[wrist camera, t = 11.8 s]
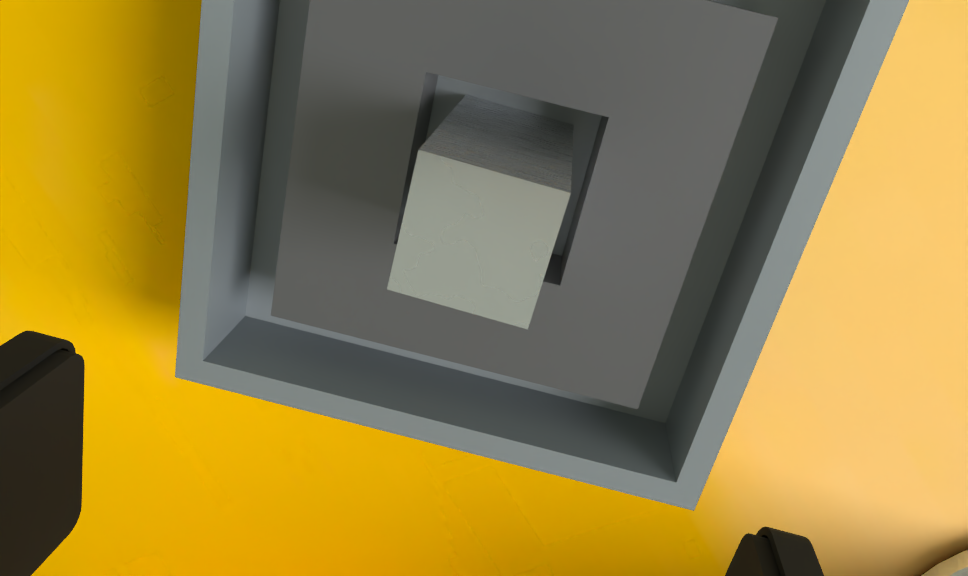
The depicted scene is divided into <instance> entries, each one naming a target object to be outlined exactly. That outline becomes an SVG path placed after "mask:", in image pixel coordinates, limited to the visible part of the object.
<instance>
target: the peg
mask: <svg viewBox="0 0 968 576" xmlns="http://www.w3.org/2000/svg"><path fill="white" fill-rule="evenodd" d="M573 129H574V125H573V124H570V123H566V122H562V121H559V120H555V119H552V118H548V117H545V116H541V115H538V114H534V113H531V112H527V111H524V110H520V109H517V108H513V107H510V106H506V105H503V104H499V103H496V102H492V101H489V100H485V99H481V98H478V97H474V96H471V95H467V94H466V95H465V96H464V98H463V99H462V100H461V101H460V102H459V103H458V104H457V106H456V107H455V108H454V109H453V110H452V111H451V113H450V114H449V115H448V116H447V117H446V118H445V120H444V121H443V122H442V123H441V124H440V125H439V127H438V128H437V129H436V130H435V131H434V132H433V134H432V135H431V136H430V137H429V138H428V139H427V141H426V142H425V143H424V144H423V145H422V146H421V148H420V149H419V150H418V154H417V159H416V163H415V167H414V172H413V176H412V181H411V185H410V190H409V194H408V198H407V203H406V207H405V212H404V216H403V220H402V225H401V229H400V234H399V238H398V243H397V247H396V251H395V256H394V260H393V265H392V269H391V273H390V278H389V282H388V287H387V290H391V291H394V292H398V293H401V294H405V295H409V296H412V297H416V298H419V299H423V300H426V301H430V302H433V303H437V304H440V305H444V306H447V307H451V308H454V309H458V310H461V311H465V312H468V313H472V314H475V315H479V316H482V317H486V318H489V319H493V320H496V321H500V322H503V323H507V324H510V325H514V326H517V327H521V328H524V329H528V327H529V324H530V321H531V318H532V314H533V311H534V308H535V305H536V302H537V299H538V295H539V292H540V289H541V286H542V283H543V280H544V277H545V273H546V270H547V267H548V264H549V261H550V258H551V254H552V251H553V248H554V245H555V242H556V239H557V235H558V232H559V229H560V226H561V223H562V220H563V216H564V213H565V210H566V207H567V204H568V201H569V197H570V194H571V177H572V153H573Z"/></svg>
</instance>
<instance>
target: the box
mask: <svg viewBox="0 0 968 576" xmlns="http://www.w3.org/2000/svg"><path fill="white" fill-rule="evenodd" d="M908 2H909V0H202V5H201V19H200V34H199V48H198V62H197V76H196V90H195V104H194V118H193V132H192V146H191V160H190V174H189V189H188V203H187V217H186V231H185V245H184V259H183V273H182V287H181V301H180V315H179V329H178V344H177V358H176V372H175V377H177V378H181V379H185V380H189V381H192V382H196V383H200V384H204V385H208V386H212V387H216V388H220V389H223V390H227V391H231V392H235V393H239V394H243V395H247V396H251V397H255V398H258V399H262V400H266V401H270V402H274V403H278V404H282V405H286V406H290V407H293V408H297V409H301V410H305V411H309V412H313V413H317V414H321V415H324V416H328V417H332V418H336V419H340V420H344V421H348V422H352V423H356V424H359V425H363V426H367V427H371V428H375V429H379V430H383V431H387V432H391V433H394V434H398V435H402V436H406V437H410V438H414V439H418V440H422V441H425V442H429V443H433V444H437V445H441V446H445V447H449V448H453V449H457V450H460V451H464V452H468V453H472V454H476V455H480V456H484V457H488V458H492V459H495V460H499V461H503V462H507V463H511V464H515V465H519V466H523V467H526V468H530V469H534V470H538V471H542V472H546V473H550V474H554V475H558V476H561V477H565V478H569V479H573V480H577V481H581V482H585V483H589V484H593V485H596V486H600V487H604V488H608V489H612V490H616V491H620V492H624V493H627V494H631V495H635V496H639V497H643V498H647V499H651V500H655V501H659V502H662V503H666V504H670V505H674V506H678V507H682V508H686V509H690V510H695V507H696V505H697V502H698V500H699V498H700V495H701V493H702V491H703V488H704V486H705V483H706V481H707V479H708V476H709V474H710V472H711V469H712V467H713V464H714V462H715V460H716V457H717V455H718V453H719V450H720V448H721V445H722V443H723V441H724V438H725V436H726V434H727V431H728V429H729V426H730V424H731V422H732V419H733V417H734V415H735V412H736V410H737V407H738V405H739V403H740V400H741V398H742V396H743V393H744V391H745V388H746V386H747V384H748V381H749V379H750V377H751V374H752V372H753V369H754V367H755V365H756V362H757V360H758V358H759V355H760V353H761V350H762V348H763V346H764V343H765V341H766V339H767V336H768V334H769V331H770V329H771V327H772V324H773V322H774V320H775V317H776V315H777V312H778V310H779V308H780V305H781V303H782V301H783V298H784V296H785V293H786V291H787V289H788V286H789V284H790V282H791V279H792V277H793V275H794V272H795V270H796V267H797V265H798V263H799V260H800V258H801V256H802V253H803V251H804V248H805V246H806V244H807V241H808V239H809V237H810V234H811V232H812V229H813V227H814V225H815V222H816V220H817V218H818V215H819V213H820V210H821V208H822V206H823V203H824V201H825V199H826V196H827V194H828V191H829V189H830V187H831V184H832V182H833V180H834V177H835V175H836V172H837V170H838V168H839V165H840V163H841V161H842V158H843V156H844V153H845V151H846V149H847V146H848V144H849V142H850V139H851V137H852V134H853V132H854V130H855V127H856V125H857V123H858V120H859V118H860V115H861V113H862V111H863V108H864V106H865V104H866V101H867V99H868V96H869V94H870V92H871V89H872V87H873V85H874V82H875V80H876V77H877V75H878V73H879V70H880V68H881V66H882V63H883V61H884V58H885V56H886V54H887V51H888V49H889V47H890V44H891V42H892V40H893V37H894V35H895V32H896V30H897V28H898V25H899V23H900V21H901V18H902V16H903V13H904V11H905V9H906V6H907V4H908ZM466 94H467V95H471V96H474V97H478V98H481V99H485V100H489V101H492V102H496V103H499V104H503V105H506V106H510V107H513V108H517V109H520V110H524V111H527V112H531V113H534V114H538V115H541V116H545V117H548V118H552V119H555V120H559V121H562V122H566V123H570V124H573V125H574V129H573V153H572V177H571V194H570V197H569V201H568V204H567V207H566V210H565V213H564V216H563V220H562V223H561V226H560V229H559V232H558V235H557V239H556V242H555V245H554V248H553V251H552V254H551V258H550V261H549V264H548V267H547V270H546V273H545V277H544V280H543V283H542V286H541V289H540V292H539V295H538V299H537V302H536V305H535V308H534V311H533V314H532V318H531V321H530V324H529V327H528V329H524V328H521V327H517V326H514V325H510V324H507V323H503V322H500V321H496V320H493V319H489V318H486V317H482V316H479V315H475V314H472V313H468V312H465V311H461V310H458V309H454V308H451V307H447V306H444V305H440V304H437V303H433V302H430V301H426V300H423V299H419V298H416V297H412V296H409V295H405V294H401V293H398V292H394V291H391V290H387V287H388V282H389V278H390V273H391V269H392V265H393V260H394V256H395V251H396V247H397V243H398V238H399V234H400V229H401V225H402V220H403V216H404V212H405V207H406V203H407V198H408V194H409V190H410V185H411V181H412V176H413V172H414V167H415V163H416V159H417V154H418V150H419V149H420V148H421V146H422V145H423V144H424V143H425V142H426V141H427V139H428V138H429V137H430V136H431V135H432V134H433V132H434V131H435V130H436V129H437V128H438V127H439V125H440V124H441V123H442V122H443V121H444V120H445V118H446V117H447V116H448V115H449V114H450V113H451V111H452V110H453V109H454V108H455V107H456V106H457V104H458V103H459V102H460V101H461V100H462V99H463V98H464V96H465V95H466Z"/></svg>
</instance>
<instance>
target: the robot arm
mask: <svg viewBox="0 0 968 576" xmlns="http://www.w3.org/2000/svg"><path fill="white" fill-rule="evenodd" d="M83 410H84V360H83V358H82V356H80V355H79V354H76V353H75V348H74V346H73V344H72V343H71V342H70V341H68V340H64V339H60V338H56V337H53V336H49V335H45V334H41V333H38V332H34V331H25V332H22V333H20V334H18V335H17V336H15V337H14V338H12V339H11V340H9V341H7V342H6V343H4V344H3V345H1V346H0V576H31V575H32V574H33V573H34V571H35V570H36V569H37V568H38V567H39V566H40V565H41V564H42V563H43V562H44V561H45V560H46V559H47V557H48V556H49V555H50V554H51V553H52V552H53V551H54V550H55V549H56V548H57V547H58V546H59V544H60V543H61V542H62V541H63V540H64V539H65V538H66V537H67V536H68V535H69V534H70V532H71V531H72V530H73V528H74V526H75V525H76V523H77V520H78V518H79V515H80V512H81V503H82V456H83ZM725 576H824V575H823V572H822V569H821V567H820V564H819V562H818V559H817V556H816V554H815V551H814V549H813V546H812V544H811V542H810V541H809V539H807V538H806V537H803V536H799V535H795V534H792V533H788V532H784V531H780V530H777V529H773V528H769V527H762V528H761V529H760V530H759V531H758V533H757V534H756V535H753V534H749V533H748V534H746V535H745V536H744V537H743V538H742V540H741V542H740V544H739V546H738V548H737V550H736V553H735V555H734V557H733V559H732V561H731V564H730V566H729V568H728V570H727V572H726V575H725ZM921 576H968V550H966V551H963V552H961V553H959V554H957V555H955V556H953V557H951V558H949V559H947V560H945V561H943V562H941V563H939V564H937V565H936V566H934V567H933V568H931V569H930V570H929V571H927V572H926V573H924V574H923V575H921Z"/></svg>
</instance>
